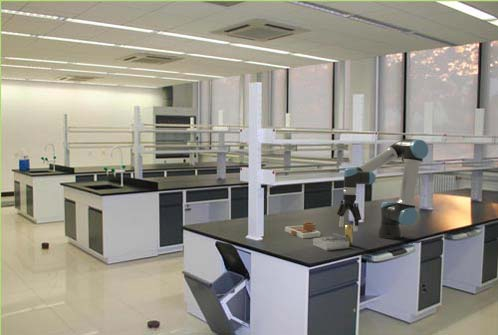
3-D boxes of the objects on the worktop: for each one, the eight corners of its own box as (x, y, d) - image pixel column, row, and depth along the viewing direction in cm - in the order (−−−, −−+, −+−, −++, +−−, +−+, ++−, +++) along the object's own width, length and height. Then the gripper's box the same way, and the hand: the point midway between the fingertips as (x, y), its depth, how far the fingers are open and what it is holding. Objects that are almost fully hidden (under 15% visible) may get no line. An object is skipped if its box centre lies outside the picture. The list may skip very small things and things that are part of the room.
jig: (335, 242, 272) (335, 232, 272) (349, 247, 259) (349, 237, 259) (313, 244, 266) (313, 235, 265) (326, 250, 253) (326, 240, 252)
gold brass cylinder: (349, 243, 269) (349, 224, 269) (353, 245, 265) (354, 225, 265) (343, 244, 268) (343, 224, 267) (347, 246, 264) (348, 226, 263)
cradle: (301, 229, 309) (301, 225, 309) (320, 236, 288) (320, 232, 288) (284, 231, 304) (285, 226, 304) (302, 238, 283) (302, 233, 282)
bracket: (309, 231, 304) (310, 222, 304) (317, 234, 297) (318, 224, 297) (288, 233, 295) (289, 223, 295) (296, 236, 288) (296, 225, 288)
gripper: (332, 191, 274) (331, 225, 276) (358, 196, 252) (356, 233, 253) (342, 191, 277) (340, 224, 279) (368, 196, 255) (366, 232, 256)
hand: (348, 229), depth 266 cm, fingers open, 13 cm apart
